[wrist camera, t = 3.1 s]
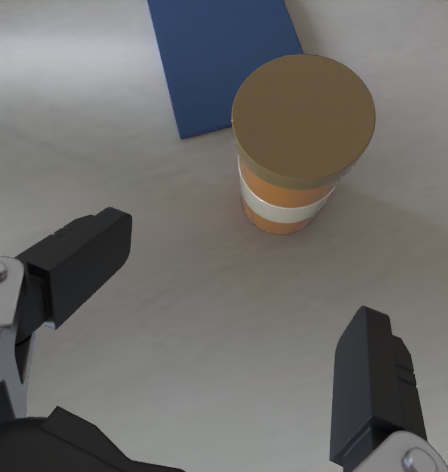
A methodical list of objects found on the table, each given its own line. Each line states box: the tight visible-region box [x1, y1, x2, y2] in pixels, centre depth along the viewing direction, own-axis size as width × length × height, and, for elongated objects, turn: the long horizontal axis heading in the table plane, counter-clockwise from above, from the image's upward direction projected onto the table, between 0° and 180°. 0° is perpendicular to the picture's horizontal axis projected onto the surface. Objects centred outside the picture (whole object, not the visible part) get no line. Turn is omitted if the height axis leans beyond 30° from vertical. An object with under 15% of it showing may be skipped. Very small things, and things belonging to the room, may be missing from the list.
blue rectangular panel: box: [147, 0, 303, 139], centre depth 27 cm, size 11×20×1 cm, turn 14°
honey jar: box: [231, 54, 375, 234], centre depth 19 cm, size 6×6×10 cm
